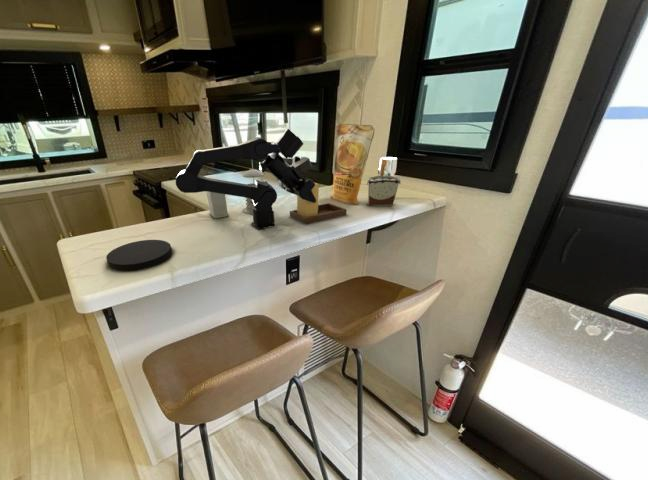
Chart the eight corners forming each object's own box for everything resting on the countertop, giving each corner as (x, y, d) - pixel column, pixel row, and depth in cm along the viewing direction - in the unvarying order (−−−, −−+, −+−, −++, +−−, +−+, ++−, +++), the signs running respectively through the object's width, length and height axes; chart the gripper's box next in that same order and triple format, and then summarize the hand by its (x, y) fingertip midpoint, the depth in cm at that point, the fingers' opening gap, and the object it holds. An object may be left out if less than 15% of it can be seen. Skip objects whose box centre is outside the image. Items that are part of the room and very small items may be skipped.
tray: (305, 224, 107) (305, 218, 106) (289, 217, 115) (289, 211, 114) (346, 215, 113) (346, 209, 112) (328, 208, 121) (328, 202, 120)
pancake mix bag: (338, 194, 139) (342, 123, 124) (368, 203, 124) (377, 124, 110) (326, 197, 137) (329, 124, 122) (354, 206, 122) (362, 125, 107)
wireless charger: (160, 241, 101) (158, 235, 100) (181, 257, 89) (180, 251, 88) (102, 256, 92) (100, 250, 91) (117, 277, 80) (114, 270, 79)
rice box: (305, 221, 109) (306, 185, 103) (297, 216, 114) (297, 182, 107) (317, 218, 111) (318, 183, 104) (308, 214, 115) (309, 181, 109)
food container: (393, 200, 126) (397, 174, 120) (397, 205, 121) (401, 178, 115) (362, 201, 127) (365, 176, 122) (364, 205, 122) (367, 179, 117)
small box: (228, 216, 120) (224, 188, 114) (214, 218, 118) (209, 190, 113) (223, 211, 126) (219, 184, 121) (209, 213, 125) (205, 186, 119)
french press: (258, 205, 131) (253, 139, 118) (275, 210, 123) (272, 140, 110) (239, 210, 126) (231, 142, 113) (255, 216, 118) (249, 143, 105)
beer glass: (393, 195, 133) (399, 157, 125) (389, 199, 128) (395, 159, 120) (377, 193, 137) (382, 156, 129) (372, 197, 132) (377, 159, 124)
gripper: (310, 152, 91) (340, 185, 100) (285, 146, 106) (313, 176, 115) (286, 183, 94) (317, 213, 102) (265, 173, 109) (294, 200, 117)
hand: (311, 199), depth 109 cm, fingers closed on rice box, 6 cm apart
